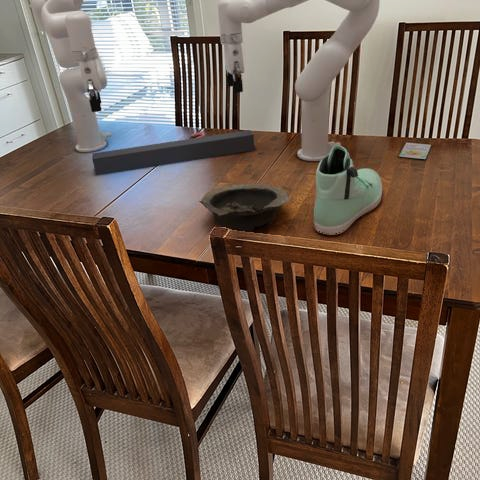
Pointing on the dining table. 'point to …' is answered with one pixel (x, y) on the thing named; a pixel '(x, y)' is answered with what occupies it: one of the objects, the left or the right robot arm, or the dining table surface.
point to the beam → (172, 152)
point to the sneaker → (343, 192)
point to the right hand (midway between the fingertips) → (235, 89)
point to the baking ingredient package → (415, 150)
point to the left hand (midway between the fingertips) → (96, 107)
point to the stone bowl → (244, 205)
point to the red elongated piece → (198, 135)
